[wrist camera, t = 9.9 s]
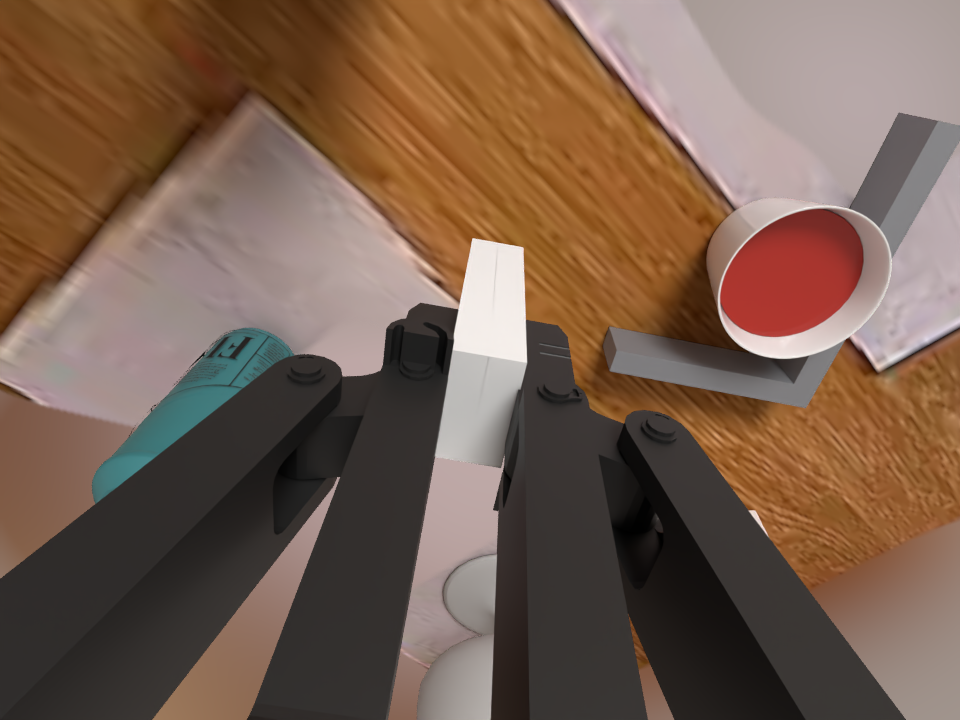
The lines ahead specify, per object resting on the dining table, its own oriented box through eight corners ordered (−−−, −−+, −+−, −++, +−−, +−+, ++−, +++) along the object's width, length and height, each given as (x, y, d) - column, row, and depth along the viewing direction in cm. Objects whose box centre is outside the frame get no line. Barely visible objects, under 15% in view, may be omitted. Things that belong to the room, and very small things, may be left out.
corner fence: (695, 69, 32) (713, 73, 29) (925, 118, 33) (967, 127, 30) (602, 346, 41) (609, 371, 38) (784, 380, 42) (805, 407, 39)
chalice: (404, 592, 56) (370, 764, 43) (504, 519, 50) (500, 690, 37) (508, 657, 60) (506, 831, 47) (610, 596, 54) (641, 774, 41)
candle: (779, 330, 40) (822, 378, 34) (663, 287, 39) (687, 329, 33) (865, 209, 35) (930, 241, 30) (736, 156, 34) (779, 180, 29)
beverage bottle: (276, 302, 41) (99, 503, 23) (325, 376, 44) (200, 603, 26) (204, 333, 42) (-13, 543, 25) (256, 402, 45) (94, 634, 28)
